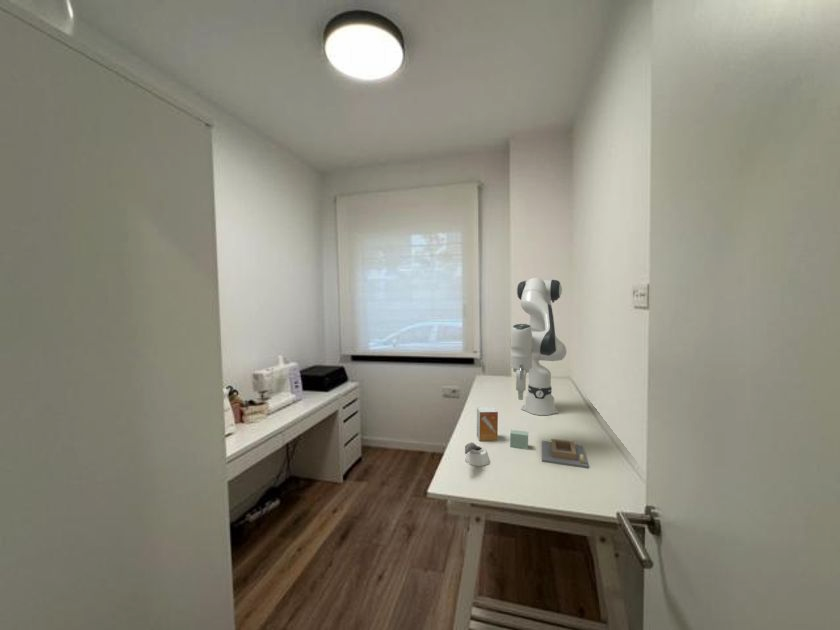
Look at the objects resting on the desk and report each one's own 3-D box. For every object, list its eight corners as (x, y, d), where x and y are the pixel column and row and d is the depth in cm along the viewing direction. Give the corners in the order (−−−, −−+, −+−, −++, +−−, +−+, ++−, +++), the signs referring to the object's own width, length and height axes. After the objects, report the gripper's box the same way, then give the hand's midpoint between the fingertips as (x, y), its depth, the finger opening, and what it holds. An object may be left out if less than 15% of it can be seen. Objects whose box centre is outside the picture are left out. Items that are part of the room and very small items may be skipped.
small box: (479, 441, 149) (479, 412, 149) (476, 435, 156) (476, 407, 155) (497, 440, 150) (498, 411, 149) (494, 435, 156) (494, 406, 155)
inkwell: (491, 457, 135) (492, 432, 134) (480, 480, 118) (480, 452, 118) (469, 453, 138) (469, 429, 138) (454, 474, 122) (454, 447, 121)
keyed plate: (541, 442, 148) (541, 433, 148) (582, 447, 143) (582, 438, 143) (542, 461, 131) (542, 451, 131) (588, 468, 126) (588, 458, 126)
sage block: (510, 443, 147) (511, 429, 147) (528, 445, 145) (528, 431, 145) (510, 447, 144) (510, 433, 143) (527, 449, 141) (527, 435, 141)
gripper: (529, 368, 132) (529, 404, 132) (528, 359, 151) (528, 391, 152) (512, 367, 134) (512, 402, 134) (514, 359, 153) (513, 389, 154)
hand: (520, 396), depth 143 cm, fingers open, 8 cm apart
